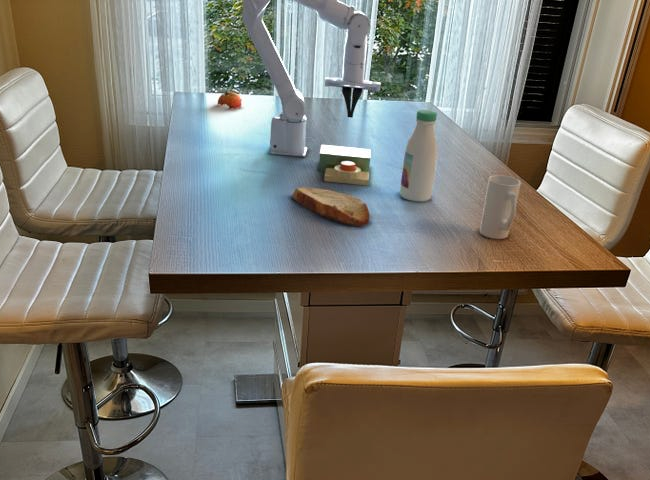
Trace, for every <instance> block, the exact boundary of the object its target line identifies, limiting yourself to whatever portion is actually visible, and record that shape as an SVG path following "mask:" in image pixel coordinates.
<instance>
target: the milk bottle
mask: <svg viewBox="0 0 650 480" xmlns="http://www.w3.org/2000/svg"><path fill="white" fill-rule="evenodd" d="M415 117H416V119H415V122H416V124H415V127H414V129H413V131H412V133H411V135H410V136H409V138H408V140H407V142H406V146H405V151H404V157H403V164H402V170H401V171H402V173H401V179H400V187H399V195H400V197H402V198H403V199H405V200H407V201H412V202H426V201H429V200H430V199H431V198H432V196H433V195H432V194H433V188H434V183H435V176H436V168H437V163H438V155H439V154H438V153H439V145H438V140H437V136H436V131H435V125H436V123H437V119H438V113H437V112H436V111H433V110H430V109H429V110H428V109H419V110H417V112H416V116H415Z"/></svg>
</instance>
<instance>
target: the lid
mask: <svg viewBox="0 0 650 480" xmlns="http://www.w3.org/2000/svg"><path fill="white" fill-rule="evenodd" d="M371 151H372V150H371V149H368V148H359V147H349V146H338V145H329V144H321V146H320V151H319V156H320V155H321V156H331V157H341V158H351V159H361V160H370V161H371V156H372V155H371V153H372V152H371Z"/></svg>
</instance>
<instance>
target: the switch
mask: <svg viewBox="0 0 650 480" xmlns="http://www.w3.org/2000/svg"><path fill="white" fill-rule="evenodd" d="M340 169H341V170H344V171H355V163H354V162H351V161H343V162H341V168H340Z"/></svg>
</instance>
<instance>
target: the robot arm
mask: <svg viewBox="0 0 650 480" xmlns="http://www.w3.org/2000/svg"><path fill="white" fill-rule="evenodd" d="M291 1H292V2H295V3H296V4H298V5H301V6H304V7H306V8H308V9H310V10H312V11H314V12H316V15H317V18H318V19H319V20H320V21H322V22H324V23H326V24H329V25H331V26H333V27H334V28H336V29H338V30H340V31H346V32H345V42H344V47H343V63H342V77H329V76H328V77H325V78H324V87H326V88H327V87H328V88H329V87H335V88H341V93H342V96H343V99H344V102H345V106H346V113H347V118H351V119H352V118H353V117H354V112H355V110H356V106H357V105H358V102H359V99H360V98H361V96H362V94H363V90H364V91H365V90H366V91H375V92H380V91H381V82H380V81H379V82H378V81H372V80H367V79H366V80H365V73H366V61H367V51H368V50H367V49H368V45H367V44H368V43H367V42H368V35H369V34H370V32H371V23H370V20H369V17H368V16H367V15H366V14H365V13H364V12H362V11H361V10H360V9H356V7H355V6H354V5H350V6H349V5H348V4H346V3H344V2H342V1H340V0H291ZM269 3H271V0H243V4H242V15H241V21H242V23H243V25H244V28H245V29H246V31H247V33H248V36H249V37H250V39H251V41H252V44H253V46H254V48H255V49H256V52H257V53H258V55H259V58H260V59H261V61H262V64H263V65H264V67H265V70H266V71H267V74H268V75H269V77H270V79H271V82H272V83H273V86H274V88H275V90H276V93H277V96H278V97H279V100H280V103H281V111H282V112H280V114H279V116H273V117H271V122H270V139H269V145H270V146H269V154H271V155H281V156H282V155H283V156H289V157H291V156H292V157H301V158H305V157H306V154H307V151H308V147H306V136H307V135H306V133H307V116H306V114H307V104H306V102H305V97H304V95H303V93H302V92H301V91H300V90H298V89H297V88H296V86H295V84H294V82H293V80H292V79H291V76H290V75H289V73H288V70H287V69H286V66H285V64H284V62H283V60H282V58H281V56H280V54H279V52H278V50H277V48H276V46H275V43H274V41H273V39H272V37H271V35H270V33H269V30H268V28H267V26H266V24H265V22H264V20H263V18H264V14H265V11H266V7H267V6H268V5H269Z"/></svg>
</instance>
